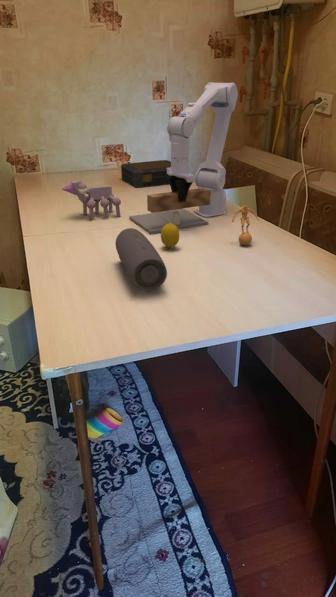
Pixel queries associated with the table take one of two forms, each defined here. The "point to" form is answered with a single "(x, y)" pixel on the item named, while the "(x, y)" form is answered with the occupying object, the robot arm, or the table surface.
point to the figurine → (245, 236)
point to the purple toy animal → (94, 197)
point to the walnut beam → (172, 200)
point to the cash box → (146, 173)
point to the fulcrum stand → (167, 220)
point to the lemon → (170, 235)
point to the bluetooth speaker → (140, 259)
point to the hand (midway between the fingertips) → (179, 199)
